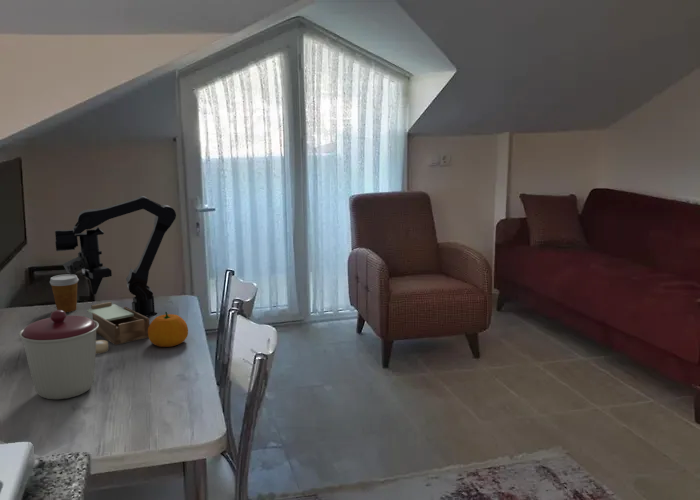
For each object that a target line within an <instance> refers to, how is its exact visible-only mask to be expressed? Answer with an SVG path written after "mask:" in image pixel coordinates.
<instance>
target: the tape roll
mask: <svg viewBox="0 0 700 500" xmlns="http://www.w3.org/2000/svg"><path fill="white" fill-rule="evenodd" d="M108 351H109V341H108V340H106V339H98V340H96V354H99V355H100V354H104V353H106V352H108Z"/></svg>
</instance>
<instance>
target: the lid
mask: <svg viewBox="0 0 700 500" xmlns="http://www.w3.org/2000/svg"><path fill="white" fill-rule="evenodd" d="M90 306H91V307H90V308H87V309H86V312H88V313H89V314H91V315H92V314H93V313H95V314H97V315H98V316H100V317H102V318H104V319H106V320H108V321H112V320H116V319H121V318H126V317H131V316H134V314H133V313H131V312H129V311H127V310H125V309H124V307H121V306H119V305H117V304H115V303H112V301H106V302H103V303H97V304H92V305H90Z"/></svg>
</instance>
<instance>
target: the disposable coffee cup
mask: <svg viewBox="0 0 700 500" xmlns="http://www.w3.org/2000/svg"><path fill="white" fill-rule="evenodd" d="M79 281H80V279H79V278H78V275H76V274H72V275H70V274H69V273H67V274H66V273H65V274H58V275H54V276H52V277H50V280H49V284H50V286H51V289H52V293H53V298H54V303H55V307H56V310H63V311H64V312H65V313H70V312H75V311H76V310H77V305H78V304H77V301H78V282H79Z"/></svg>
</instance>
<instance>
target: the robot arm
mask: <svg viewBox="0 0 700 500" xmlns="http://www.w3.org/2000/svg"><path fill="white" fill-rule="evenodd" d="M141 210H145V211H147V212H149V213H150V214H152V215H154V223H153V229H152V231H151V233H150V236H149V238H148V240H147V243H146V245H145V248H144V250H143V252H142V255H141V258H140V260H139V262H138V264H137V266H136V267H135V268H134V269H132V268H130V270H129V272H128V276H127V277H126V278H125V281H126V286H127V289H128V291H129V293H130V294H132V295H133V297H132V302H131V310H133V311H135V312H137V313H139V314H141V315H143V316H145V317H149V316H154V315H157V314H158V312H157V311H155V297H154V292H153V290H152V289H151V287H150V286H149V285H148V281H149V274H150V273H149V272H150V269H151V268H152V264H153V263H154V260H155V257H156V256H157V255H156V254H157V252H158V250H159V248H160V245H161V244H162V241H163V238H164V236H165V234H166V233H167V232H168V230H169V229H170V228H171V226H172V225H173V223H174V222H175V220H176V218H177V212H176V210H175V209H174V208H172V206H170V205H167V204H159V203H158V202H155V201H154V200H151V199H149V198H147V197H146V196H145V195H141V196H139V197H136V198H133V199H130V200H127V201H123V202H120V203H118V204H113V205H110V206H107V207H102V208H101V207H100V208H90V209H84V210H81V211H80V212H79V213H78V214H77V221H76V224H74V226H73V227H72V229H55V231H54V234H55V235H54V236H55V239H54V241H55V250H56V251H55V252H64V251H75V250H76V248H77V247H80V251H78V253H77V255H78V256H77V257H75V258H72V259H70V260H68V261H67V262H65V263H63V267H64V269H65V271H66V273H67V274H70V275H72V274H73V275H76V273H77V272H80V270H81V273H79V275H80V276H81V277H83V278H85V280H86V282H87V284H88V287H89V290H90V292H91V294H92V295H93V296H94V295H97V293H98V290H99V287H100V285H101V283H102V281H103V278H109V277H112V275H113V274H112V270H111V269H110V268H109V267H107V266H104V265H103V264H104V263H102V262H101V255H103V253H102V250H100V244H99V236H100V235H101V236H102V235H104V234H105V232H104V231H103V230H102V229H100V227H99V226H100V225H101V224H103V223H105V222H106V221H109V220H110V219H115V218H117V217H122V216H125V215H127V214H128V215H129V214H131V213H134V212H137V211H141ZM95 227H96V228H95ZM94 228H95V229H94ZM85 231H86V232H85ZM78 237H79V240H78ZM78 241H79V242H78ZM78 243H79V244H78ZM79 245H80V246H79Z"/></svg>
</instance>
